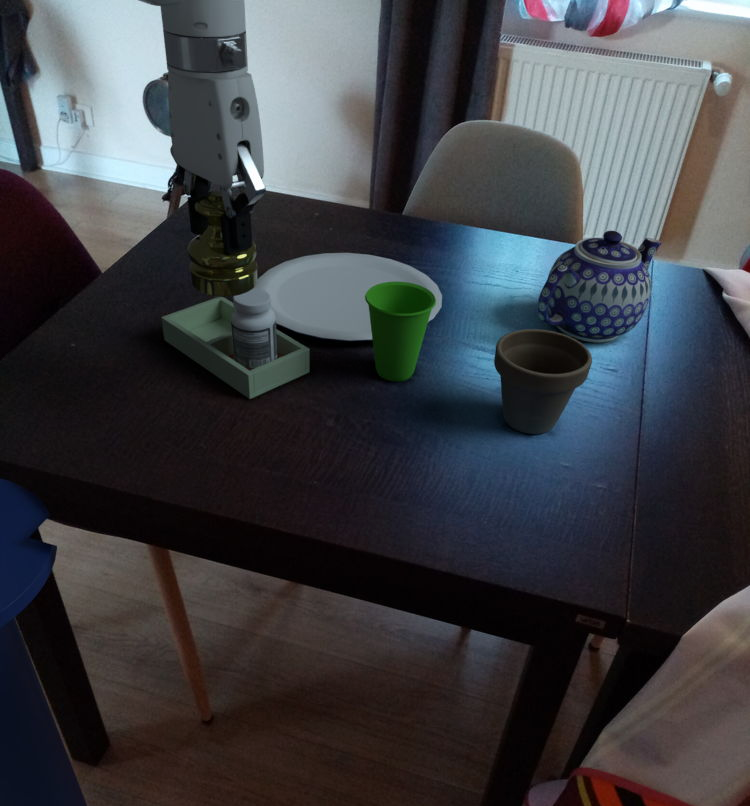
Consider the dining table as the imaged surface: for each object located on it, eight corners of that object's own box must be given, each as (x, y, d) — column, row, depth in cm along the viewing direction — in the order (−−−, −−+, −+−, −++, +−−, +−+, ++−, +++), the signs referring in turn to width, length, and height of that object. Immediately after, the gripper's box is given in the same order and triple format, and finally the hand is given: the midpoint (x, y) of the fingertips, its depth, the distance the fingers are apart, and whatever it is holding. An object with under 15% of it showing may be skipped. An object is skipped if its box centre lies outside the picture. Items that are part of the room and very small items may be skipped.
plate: (387, 370, 106) (388, 359, 105) (213, 313, 116) (212, 303, 115) (470, 289, 126) (472, 280, 125) (316, 247, 136) (316, 237, 135)
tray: (249, 399, 100) (248, 375, 97) (164, 340, 110) (160, 316, 107) (309, 372, 105) (309, 348, 103) (223, 318, 115) (221, 295, 113)
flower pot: (510, 384, 105) (523, 317, 99) (588, 415, 101) (607, 346, 94) (467, 423, 98) (478, 353, 91) (549, 458, 93) (567, 387, 87)
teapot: (565, 371, 109) (590, 271, 99) (494, 325, 118) (510, 229, 108) (680, 327, 120) (712, 233, 111) (607, 288, 129) (630, 198, 119)
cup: (348, 367, 107) (350, 293, 99) (397, 348, 111) (403, 275, 104) (391, 397, 102) (397, 321, 94) (441, 375, 106) (450, 301, 99)
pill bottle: (249, 349, 107) (245, 282, 101) (285, 361, 106) (283, 292, 99) (226, 369, 103) (220, 299, 97) (262, 380, 102) (259, 311, 95)
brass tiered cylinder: (269, 276, 90) (265, 188, 83) (239, 304, 84) (233, 211, 78) (211, 264, 91) (203, 176, 85) (179, 290, 86) (168, 199, 79)
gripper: (296, 66, 71) (298, 258, 82) (188, 31, 79) (204, 208, 91) (227, 77, 66) (240, 277, 78) (122, 38, 75) (148, 223, 87)
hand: (221, 238), depth 85 cm, fingers closed on brass tiered cylinder, 5 cm apart
